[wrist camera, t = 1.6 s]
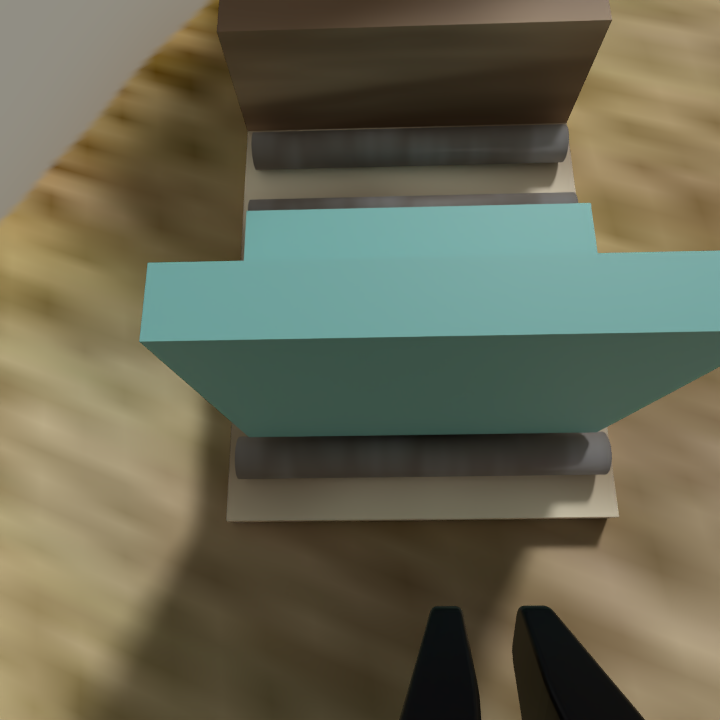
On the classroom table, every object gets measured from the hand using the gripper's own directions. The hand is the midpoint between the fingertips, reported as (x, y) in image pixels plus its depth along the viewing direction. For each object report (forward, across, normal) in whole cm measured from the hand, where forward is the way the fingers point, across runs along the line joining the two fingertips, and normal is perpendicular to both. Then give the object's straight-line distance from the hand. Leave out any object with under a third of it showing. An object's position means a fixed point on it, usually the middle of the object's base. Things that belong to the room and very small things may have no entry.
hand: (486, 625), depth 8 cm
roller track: (+17, 0, +1) cm, 17 cm away
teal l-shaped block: (+13, 0, +1) cm, 13 cm away
